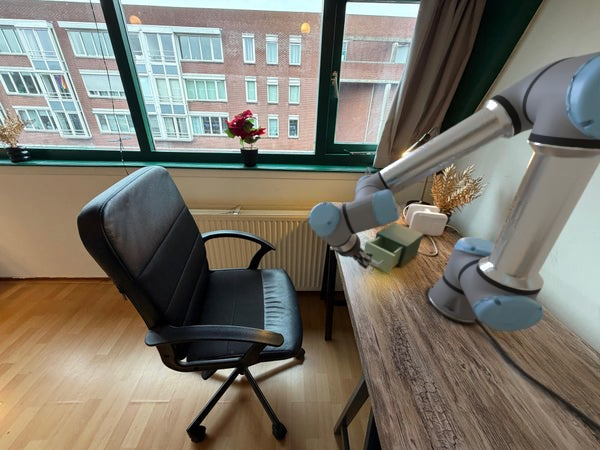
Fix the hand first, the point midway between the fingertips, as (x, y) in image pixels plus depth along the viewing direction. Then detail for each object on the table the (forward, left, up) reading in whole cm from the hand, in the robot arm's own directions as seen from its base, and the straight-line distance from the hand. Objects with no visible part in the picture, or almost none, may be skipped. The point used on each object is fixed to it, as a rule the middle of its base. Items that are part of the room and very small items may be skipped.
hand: (366, 264), depth 85 cm
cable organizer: (+35, -39, -5) cm, 53 cm away
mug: (+49, -14, -5) cm, 51 cm away
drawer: (+8, -9, -4) cm, 12 cm away
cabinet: (+15, -17, -5) cm, 23 cm away
